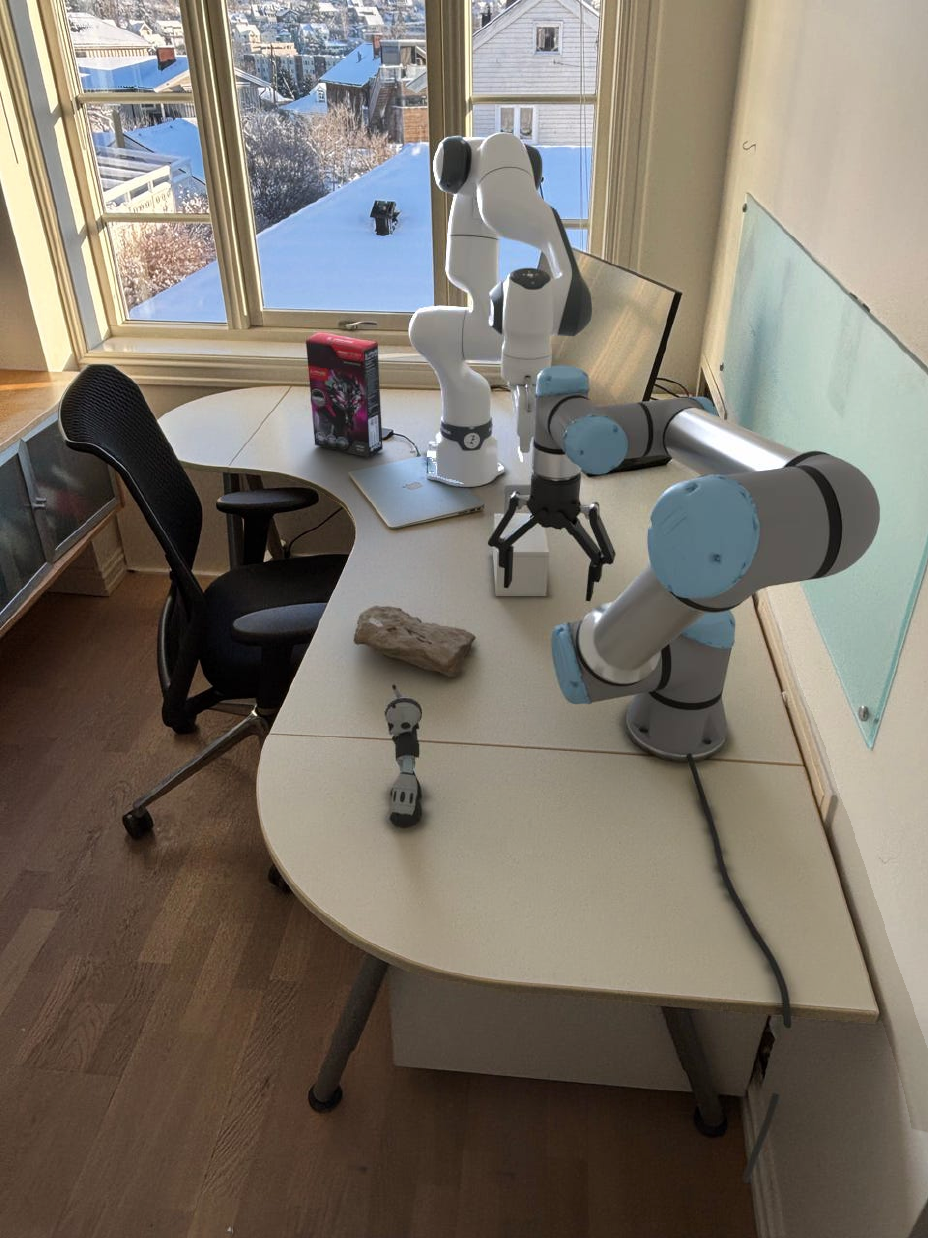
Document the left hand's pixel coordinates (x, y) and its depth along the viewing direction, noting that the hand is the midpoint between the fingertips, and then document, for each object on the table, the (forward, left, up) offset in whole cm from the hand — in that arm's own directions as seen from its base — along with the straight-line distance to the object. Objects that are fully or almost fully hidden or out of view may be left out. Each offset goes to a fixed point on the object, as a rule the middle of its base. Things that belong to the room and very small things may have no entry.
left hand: (522, 440), depth 171 cm
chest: (+5, -1, -26) cm, 27 cm away
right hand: (+32, -4, -12) cm, 35 cm away
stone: (+26, -26, -26) cm, 45 cm away
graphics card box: (-64, -26, -26) cm, 74 cm away
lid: (+5, -1, -18) cm, 18 cm away
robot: (+62, -33, -26) cm, 75 cm away
